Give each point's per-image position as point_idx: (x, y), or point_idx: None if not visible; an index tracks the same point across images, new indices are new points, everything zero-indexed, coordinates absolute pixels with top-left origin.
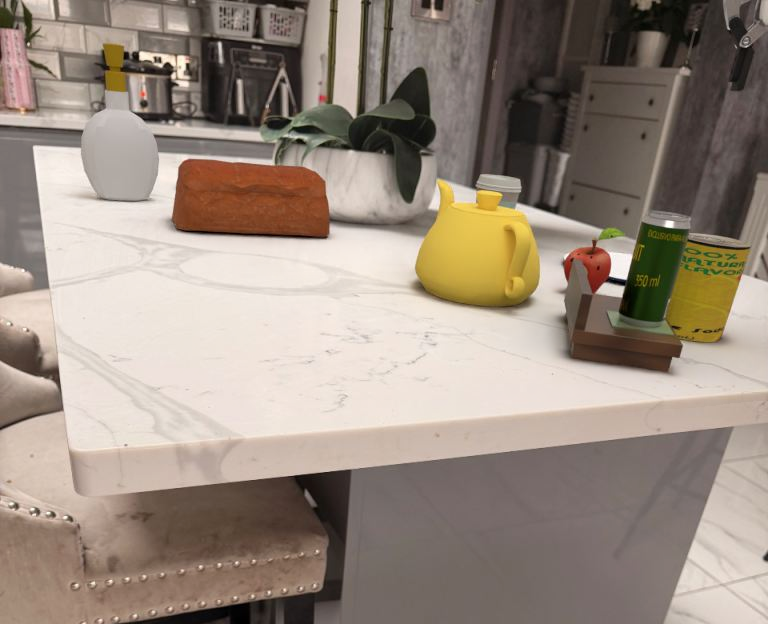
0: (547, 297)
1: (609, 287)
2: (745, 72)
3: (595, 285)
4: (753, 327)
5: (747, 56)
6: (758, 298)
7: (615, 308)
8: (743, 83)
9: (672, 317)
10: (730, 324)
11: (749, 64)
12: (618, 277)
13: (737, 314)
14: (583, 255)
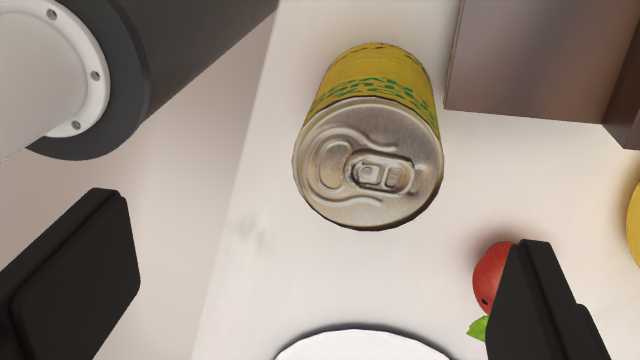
0: (581, 218)
1: (434, 315)
2: (550, 288)
3: (498, 247)
4: (246, 174)
5: (592, 352)
6: (198, 334)
7: (560, 17)
8: (530, 253)
9: (420, 71)
10: (281, 177)
11: (548, 321)
12: (416, 342)
13: (253, 238)
14: None
